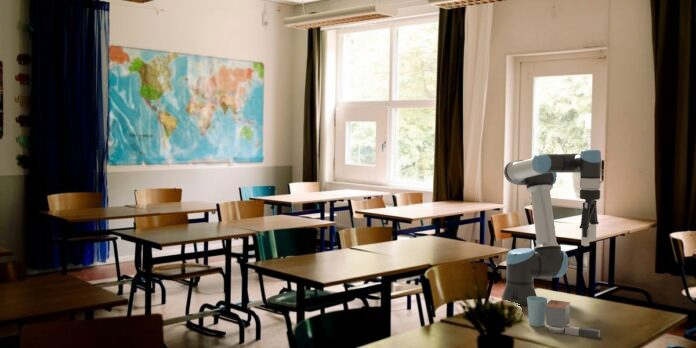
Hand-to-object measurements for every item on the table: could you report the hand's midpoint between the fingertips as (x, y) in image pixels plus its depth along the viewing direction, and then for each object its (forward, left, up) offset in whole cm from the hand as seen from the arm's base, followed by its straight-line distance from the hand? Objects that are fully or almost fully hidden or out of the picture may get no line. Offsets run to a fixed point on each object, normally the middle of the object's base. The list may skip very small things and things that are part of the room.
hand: (588, 243), depth 266 cm
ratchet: (+12, -14, -32) cm, 37 cm away
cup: (-2, -21, -32) cm, 38 cm away
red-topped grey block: (+8, -18, -29) cm, 35 cm away
